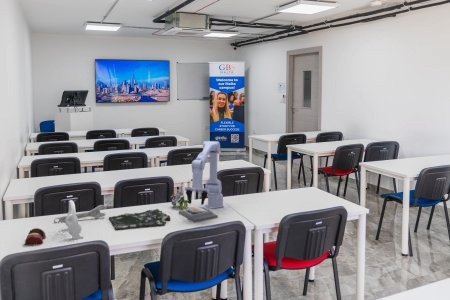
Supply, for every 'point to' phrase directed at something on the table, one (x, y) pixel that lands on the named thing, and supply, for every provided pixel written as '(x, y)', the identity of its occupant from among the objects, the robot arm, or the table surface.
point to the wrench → (87, 214)
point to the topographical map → (139, 220)
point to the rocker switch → (197, 209)
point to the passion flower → (178, 198)
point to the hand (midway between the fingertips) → (196, 204)
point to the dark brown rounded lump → (35, 237)
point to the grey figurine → (73, 222)
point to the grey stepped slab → (198, 215)
